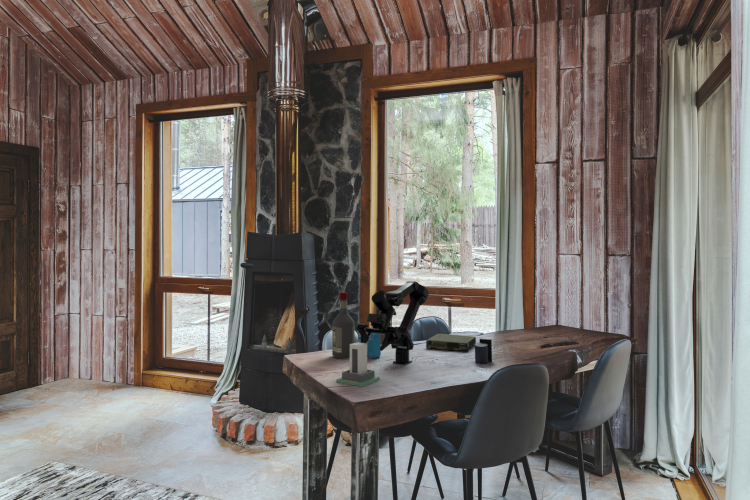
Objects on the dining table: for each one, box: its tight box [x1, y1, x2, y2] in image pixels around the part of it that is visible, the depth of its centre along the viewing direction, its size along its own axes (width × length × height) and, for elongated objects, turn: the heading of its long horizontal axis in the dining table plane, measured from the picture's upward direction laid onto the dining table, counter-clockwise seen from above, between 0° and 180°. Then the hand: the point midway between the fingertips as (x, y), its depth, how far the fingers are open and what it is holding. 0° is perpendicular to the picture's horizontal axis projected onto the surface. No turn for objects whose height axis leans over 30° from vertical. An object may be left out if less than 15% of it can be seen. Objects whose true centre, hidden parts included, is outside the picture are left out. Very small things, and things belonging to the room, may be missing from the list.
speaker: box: [474, 338, 493, 365], centre depth 218 cm, size 8×6×10 cm
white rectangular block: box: [349, 341, 368, 375], centre depth 187 cm, size 5×5×13 cm
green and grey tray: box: [336, 368, 381, 387], centre depth 187 cm, size 12×12×4 cm
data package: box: [357, 331, 382, 359], centre depth 231 cm, size 12×4×12 cm, turn 40°
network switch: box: [425, 333, 477, 353], centre depth 253 cm, size 23×24×5 cm
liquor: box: [331, 291, 356, 360], centre depth 229 cm, size 9×9×30 cm
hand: (370, 349), depth 195 cm, fingers open, 9 cm apart
